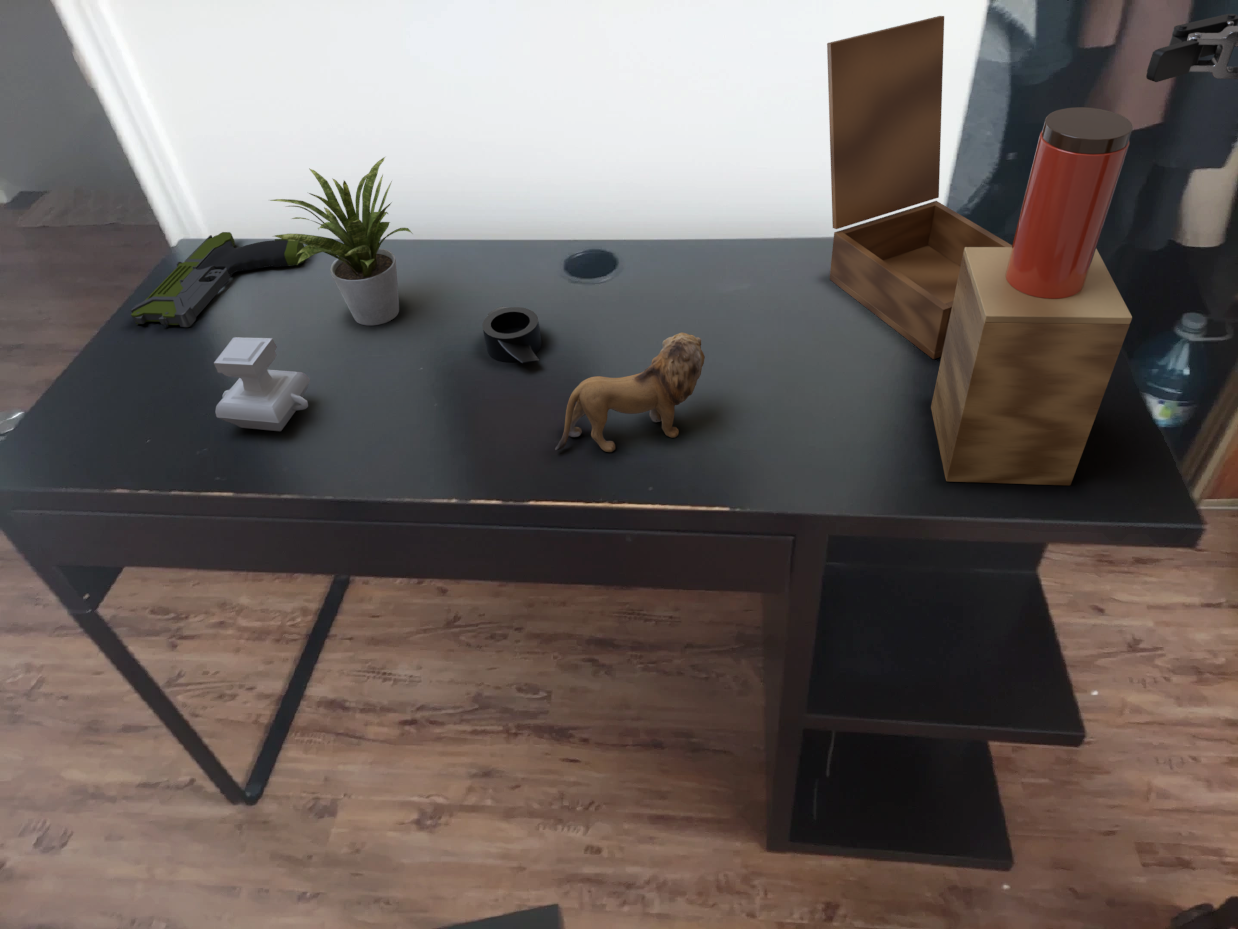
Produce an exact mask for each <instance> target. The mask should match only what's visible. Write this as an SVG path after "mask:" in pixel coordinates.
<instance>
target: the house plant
mask: <svg viewBox="0 0 1238 929" xmlns="http://www.w3.org/2000/svg"><path fill="white" fill-rule="evenodd" d="M385 159H386V156H384V157H382V158H381V159H379V160H377V161H376V163H374V165H373V166H372V167H371V169H370V170H369V172H368V173H367V174H366V175H364V176H363V177H361V179H360V181H359V183H358V186H357V188H356V192H355V206H354V202H353V198H352V194H351V190H350V187H349V185H348V183H347V182H346V180H343V182H342V185H341V183H339V182H338V180H336V179H334V178H333V177H332V178H331V179H332V181H333V183H334V185H335V187H336V190H337V192H338V194H339V196H340V200H341V202H342V205H343V207H344V209H345V212H344V210H343V208H342V207H341V204H340V203H339V200H338V198H337V196H336V194H335V193H334V191H333V189H332V187H331V184H330V183H329V181H328V180H327V179H326V178H325V177H324V176H322V175H321V174H320V173H318V171H316V170H314V169H312V168H308V169H309V171H310V172H311V173H312V174H313V176H314V177H315V179H316V180H317V182H318V183H319V185H320V187H321V189H322V191H323V193H324V196H325V198H323V197H322V196H320V195H317V194H314V193H311V192H308V194H309V195H311V196H313V197H314V198H317V199H318V200H320V201H321V202H322V203H323V204H324V205H325V206H326V207H325V206H324V207H323V209H324V211H323V210H322V209H320V207H317V206H315V205H313V204H312V203H309V202H307V201H304V200H299V199H287V198H286V199H285V198H276V199H269V201H271V202H280V203H281V202H283V203H289V204H295V205H286V206H285V205H284V207H285V208H286V207H293V208H294V207H295V208H299V209H302V210H305V211H307V212H308V213H310V214H312V215H313V216H314V217H315V218H317V219H318V220H319V221H320V222H321V223H319V222H317V221H315V220H313V219H311V220H310V218H306V217H300V216H297V217H292V218H291V220H307V221H311V222H314V223H316V224H318V225H320V226H319V227H317V229H318V230H320V229H323V230H327V231H330V232H331V233H332V234H333V235H334V236H336V238H338V239H339V241H338V240H336V239H334V238H331V237H326V236H322V235H321V236H320V235H314V234H304V233H282V234H276V235H275V234H274V235H272V236H271V237H275V238H277V239H291V240H289V241H297V242H300V243H303V245H304V247H303V248H302V249H301V250H300V251H299V252H298V253H297V254H299V253H302V252H304V253H303V254H302V255H301V256H300V258H299V261H298V263H300V262H301V261H303V260H305V261H306V260H307V259H309V258H310V257H313V256H315V255H317V254H321V253H324V254H327V255H329V256H331V257H333V258H335V260H333V262H332V264H331V265H330V270H329V272H330V276H332V279H333V281H334V283H335V284H336V287H337V288H338V291H339V293H340V294H341V296H342V298H343V300H344V302H345V304H346V306H347V308H348V310H349V312H350V313H351V315H352V317H353V319H354V321H355V322H356V323H358V324H360V325H362V326H363V325H364V326H378V325H379V326H380V325H383V324H386V323H388V322H391V320H393V319H395V318H396V317H397V316H398V315H399V313H400V301H399V287H398V286H399V285H398V269H397V258H396V256H395V254H394V253H393V252H392V251H390V250H388V249H385V248H380V247H381V245H382V243H383V242H384V241H385V240H386V239H387V238H388V237H390V236H391V235H394V234H395V233H399V232H408V233H411V234H412V235H414V233H413V232H412V231H411V229H409V228H408V227H400V228H397V229H395V230H392V231H391V232H389V233H387V235H386V236H384V237H383V235H384V234H385V232H386V231H387V230H388V228H389V225H390V223H391V222H390V221H383V219H384V217H386V215H389V212H388V211H386V210H387V209H388V208H389V207H390V206H391V204H392V203H393V201H392V202H390V203H389V204H388V205H386V206H385V207H384V205H385V202H386V200H387V195H388V193H389V191H390V187H391V185H392V182H393V180H391V182H390V183H389V185H388V187H387V188H386V190H385V192H384V194H383V197H382V200H381V203H380V206H379V207H378V210H377V211H375V209H376V204H377V202H378V198H379V195H380V192H381V186H382V181H383V178H384V177H383V176H384V174H382V175H381V177H380V178H379V181H378V184H377V186H376V188H375V193H374V197H373V200H372V195H373V190H374V186H375V182H376V180H377V177H378V172H379V169H380V167H381V165H382V164H383V163H384V161H385ZM361 198H362V199H361ZM360 200H361V201H362V202H361V201H360ZM360 202H361V205H362V206H361V219H360ZM327 207H328V208H327ZM314 212H315V213H316V214H315V213H314ZM345 213H346V214H345ZM317 214H318V215H319V216H320V217H321V218H323V219H325V220H326V222H325V221H324V220H322V219H321V218H320V217H319V216H318V215H317ZM340 223H341V224H340ZM391 224H392V223H391ZM341 225H342V226H341ZM382 237H383V238H382ZM381 238H382V239H381ZM296 256H297V255H296ZM300 264H301V263H300ZM296 266H297V267H298V266H299V264H297V265H296Z"/></svg>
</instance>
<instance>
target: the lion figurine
mask: <svg viewBox="0 0 1238 929" xmlns="http://www.w3.org/2000/svg"><path fill="white" fill-rule="evenodd" d="M705 357H706V356H705V353H704V351H703V350H702V338H701V337H699V336H697V337H696V336H695V335H694V334H689V333H687V332H679V333H676V334H674V335H673V336H669V337H667V338H666V339H663V341H662V348H661V350H660V351H659V353H658V354H657V355H656V356H654V357H653V358H652V360H651V364H650V365H649V366H648V367H647V368H645V369H644V370H643V371H642V372H638V373H635V374H632V375H626V376H621V377H608V376H602V375H601V376H599V375H598V376H597V375H595V376H591V377H588V378H586V379H584V380H582V381H581V382H579V384H578V385H577V386H576V387H575V388H574V389H573V391H572V392H571V394H570V395H569V396H570V397H569V398H568V401H567V405H566V408H565V409H566V410H565V417H564V418H565V419H564V427H563V428H564V429H563V433H562V436H561V438H560V440H559V441H558V442H557V445H556V446H555V448H554V450H555V451H560V450H563V449H564V448H565V446H566V445H567V443H568V439H569V437H571V438H578V437H580V436H581V435H582V433H583V430H582V428H581V427H579V426H576V424H577V423H578V421H579V420H580V419H581V418H583V417H584V416H586V418H587V420H588V421H589V423H590V425H591V433H590V436H591V439H592V440H593V441H594V442H595V443H596V444H597V445H598V446H599V448H600V449H601V450H602V451H603V452H607V453H612V452H614V451H615V450H616V444H615V442H614V441H613V440H606V439H605V438H604V434H603V433H604V429H605V426H606V424H607V421H608V415H609V414H608V413H609V410H612V411H615V412H617V413H620V414H627V415H636V414H643V413H646V412H648V411H649V418H650V419H651V421H652V422H653V423H660V422H661V429H662V431H663V433H664V434H665V436H666V437H669V438H674V439H675V438H676V437H678V436H679V428H677V426H673V424H674V418H675V412H676V411H675V410H676V409H675V407H676V406H679V405H680V404H681V403H683V402H685V401H686V400H687V399H688V398H689V397H690V396H692V395H693V393H694V390H695V388H696V386H697V383H698V380H700V377H701V375H702V371H703V370H702V368H703V367H704V364H705V359H706V358H705Z"/></svg>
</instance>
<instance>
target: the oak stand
mask: <svg viewBox="0 0 1238 929" xmlns="http://www.w3.org/2000/svg"><path fill="white" fill-rule="evenodd" d="M1130 324H1131V323H1130ZM1130 324H1078V323H991V322H984V318H983V315H982V312H981V309H980V305H979V302H978V299H977V296H976V292H975V289H974V286H973V283H972V279H971V276H970V273H969V270H968V266H967V263H966V260H965V257H964V254H963V257H962V262H961V267H960V271H959V276H958V281H957V286H956V290H955V295H954V300H953V305H952V309H951V314H950V319H949V324H948V328H947V333H946V338H945V343H944V347H943V352H942V357H940V362H939V368H938V372H937V377H936V381H935V387H934V389H933V390H934V391H933V396H932V399H931V404H930V410H931V415H932V420H933V424H934V429H935V434H936V438H937V444H938V448H939V453H940V459H941V464H942V469H943V473H944V478H945V481H946V482H948V483H949V482H951V483H953V482H955V483H981V484H982V483H984V484H1011V485H1012V484H1013V485H1038V486H1039V485H1043V486H1072V482H1073V480H1074V477H1075V474H1076V471H1077V468H1078V467H1079V463H1080V460H1081V458H1082V456H1083V453H1084V450H1085V447H1086V445H1087V442H1088V439H1089V436H1090V434H1091V431H1092V428H1093V425H1094V422H1095V420H1096V417H1097V415H1098V412H1099V410H1100V406H1101V404H1102V402H1103V398H1104V396H1105V393H1106V390H1107V388H1108V385H1109V383H1110V379H1111V377H1112V374H1113V371H1114V368H1115V367H1116V363H1117V361H1118V358H1119V355H1120V352H1121V350H1122V348H1123V344H1124V341H1125V339H1126V336H1127V334H1128V331H1129V328H1130Z"/></svg>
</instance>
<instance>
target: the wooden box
mask: <svg viewBox="0 0 1238 929" xmlns="http://www.w3.org/2000/svg"><path fill="white" fill-rule="evenodd" d="M832 240H833V241H832V251H831V260H830V270H829V281H831V282H832V283H833V284H835V285H836V286H838V287H839V288H840V289H841V290H842V291H844V292H845V293H846V294H847V295H849V296H850V297H852V298H853V299H854V300H856V302H858V303H859V304H861V305H862V306H863V307H865V308H866V309H867V310H868V311H870V312H871V313H872V314H874V315H875V316H876V317H878V318H879V319H880V320H882V321H883V322H884V323H885V324H886V325H888V326H889V327H890V328H892V329H893V330H895V331H896V332H897V333H898V334H899V335H901V336H902V337H903V338H905V339H906V340H908V341H909V342H910V343H911V344H912V345H913V346H915V347H916V348H918V349H919V350H921V351H922V352H923V353H924V354H926V355H927V356H928V357H929V358H930V359H932V360H936V359H938V358H941V357H942V352H943V347H944V343H945V338H946V333H947V328H948V324H949V319H950V314H951V309H952V305H953V300H954V295H955V290H956V286H957V281H958V276H959V271H960V267H961V262H962V257H963V254H964V248H965V247H1012V245H1013V244H1011V243H1009V242H1008V241H1005V240H1004V239H1002V238H1001V237H999V236H997V235H995V234H994V233H992V232H990V231H988V230H987V229H985V228H983V226H980V225H978V224H977V223H975V222H974V221H972V220H970V219H968V218H966V217H965V216H963V215H961V214H959V213H958V212H957V211H955V210H953V209H951V208H950V207H948V206H947V205H944V204H943V203H941V202H940V201H938V200H933V201H931V202H928V203H924V204H922V205H917V206H914V207H911V208H908V209H905V210H902V211H899V212H895V213H892V214H889V215H886V216H883V217H880V218H876V219H872V220H870V221H867V222H863V223H860V224H856V225H854V226H850V227H846V228H844V229H840V230H837V231H834V232H833V239H832Z"/></svg>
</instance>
